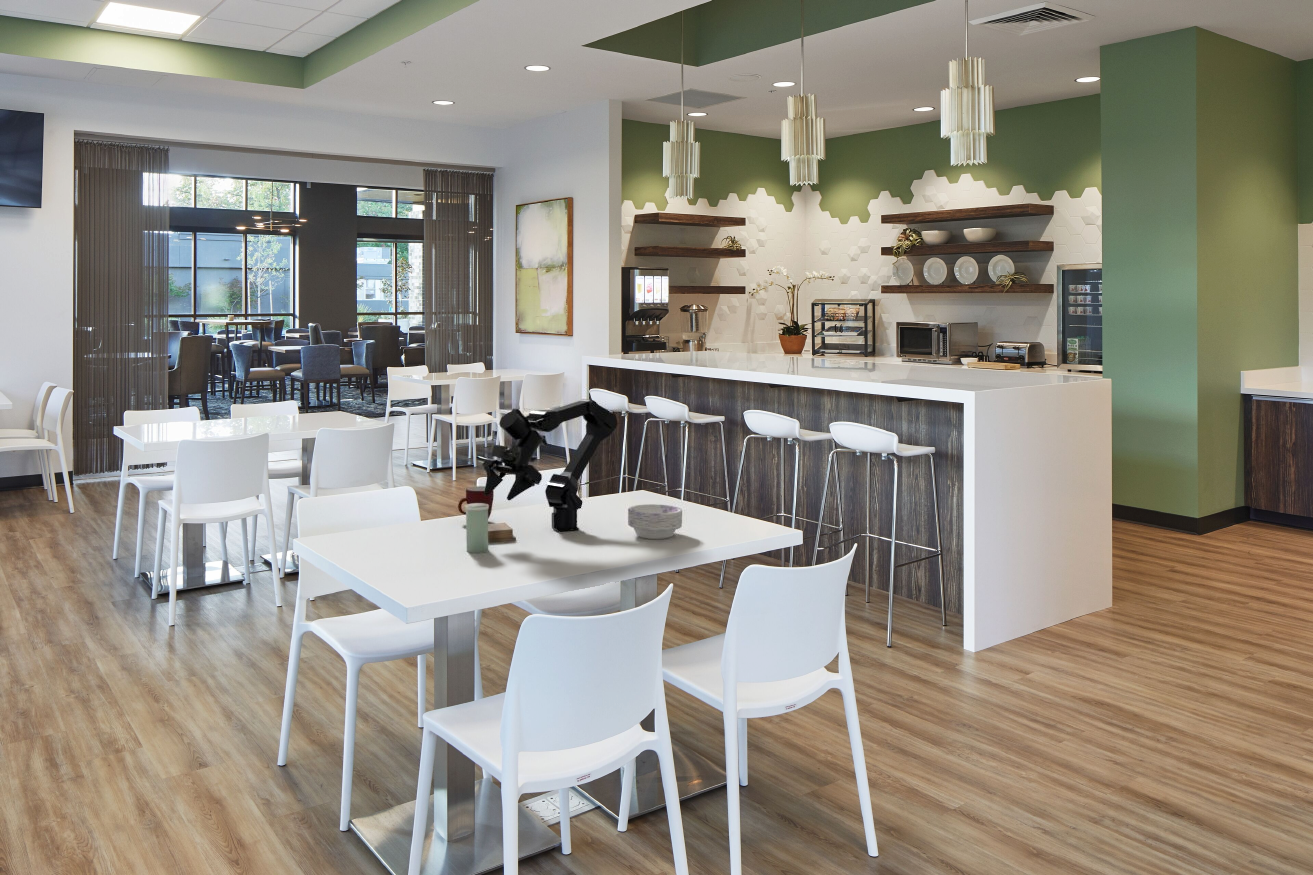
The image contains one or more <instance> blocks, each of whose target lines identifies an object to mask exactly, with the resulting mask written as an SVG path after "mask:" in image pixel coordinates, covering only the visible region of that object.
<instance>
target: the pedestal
mask: <svg viewBox="0 0 1313 875" xmlns="http://www.w3.org/2000/svg"><path fill="white" fill-rule="evenodd" d="M513 531H514V529H513V528H512V527H511V526H510V525H508V524H507V522H496V523H488V544H490V543H501V542H513V541H517V537H516V536H515V535H514V532H513Z"/></svg>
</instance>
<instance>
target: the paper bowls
mask: <svg viewBox="0 0 1313 875" xmlns="http://www.w3.org/2000/svg"><path fill="white" fill-rule="evenodd" d="M627 525H628V526H629V527H630V528H633V529H634V532H635V535H637V536H638V537H639V538H643V539H646V538H647V539H648V540H665V539H669V538H671V537H673V536H674V534H675V533H676V530H678V529H681V528H682V526H683V509H682V508H681V507H679V506H674V505H671V504H661V503H660V504H659V503H658V504H657V503H656V504H655V503H647V504H646V503H644V504H642V503H641V504H636V505H635V504H634V505H631V506H629V507H628V508H627ZM647 539H646V540H647Z"/></svg>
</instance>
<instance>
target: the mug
mask: <svg viewBox="0 0 1313 875" xmlns="http://www.w3.org/2000/svg"><path fill="white" fill-rule="evenodd" d="M485 486H486V485H484V486H482V485H480V486H478V485H477V486H470V487H467V488H466V489H465V497H464V498H463V497H462V498H461V499H460V500H459V502H458V504H457V509H458V512H459V513H461V514H462V515H465V516H466V511H463V509H462V506H463V503H465V502H466V505H467V504H473V503H484V504H488V505H489V508H488V520H489V518H490V516H491V514H492V510H493V501H494V491H495V490H493V491H492V492H491V493H490V494H489V495H488V496H485V495H484V491H485Z"/></svg>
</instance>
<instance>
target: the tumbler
mask: <svg viewBox="0 0 1313 875" xmlns="http://www.w3.org/2000/svg"><path fill="white" fill-rule="evenodd" d="M488 508H489V505H488V504H484V503H473V504H467V503H466V504H465V505H464V509H465V512H466V515H465V520H466V521H465V522H466V523H465V526H466V527H465V528H466V529H465V530H466V531H465V532H466V538H465V539H466V552H467V553H471V554H482V553H487V552H489V543H488V524H489V519H488Z"/></svg>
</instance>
